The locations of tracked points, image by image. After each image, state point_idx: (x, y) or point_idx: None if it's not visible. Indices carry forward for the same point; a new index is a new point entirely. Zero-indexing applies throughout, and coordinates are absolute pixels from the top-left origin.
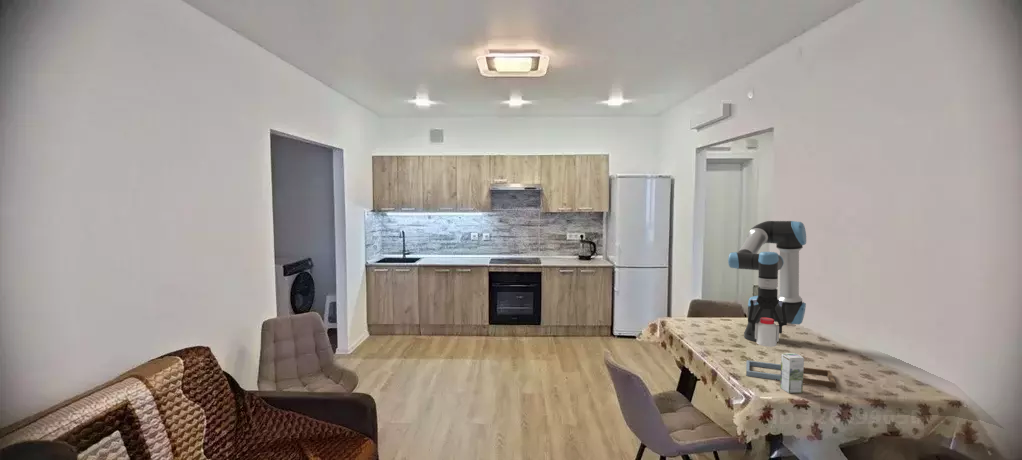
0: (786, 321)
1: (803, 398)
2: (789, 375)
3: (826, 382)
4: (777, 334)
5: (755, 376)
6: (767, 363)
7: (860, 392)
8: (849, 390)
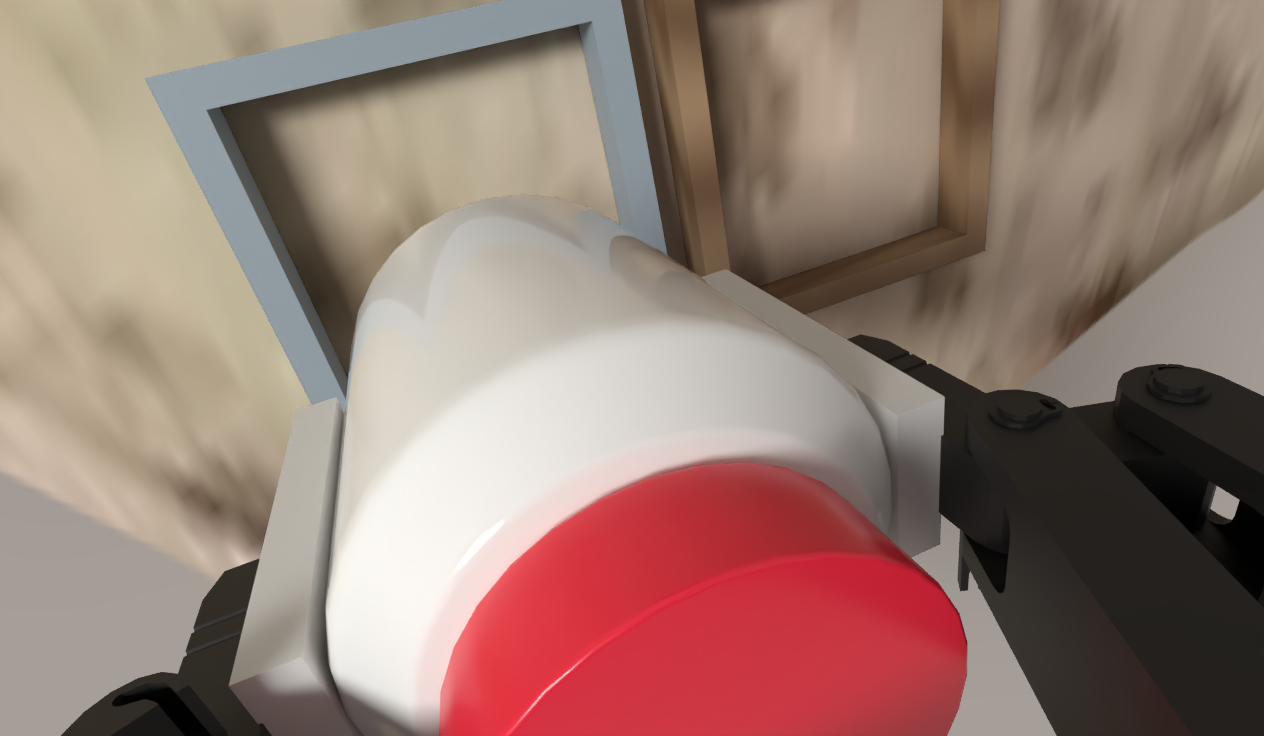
0: (1253, 572)
1: None
2: None
3: (928, 267)
4: None
5: None
6: (432, 50)
7: (1067, 222)
8: (1019, 230)
